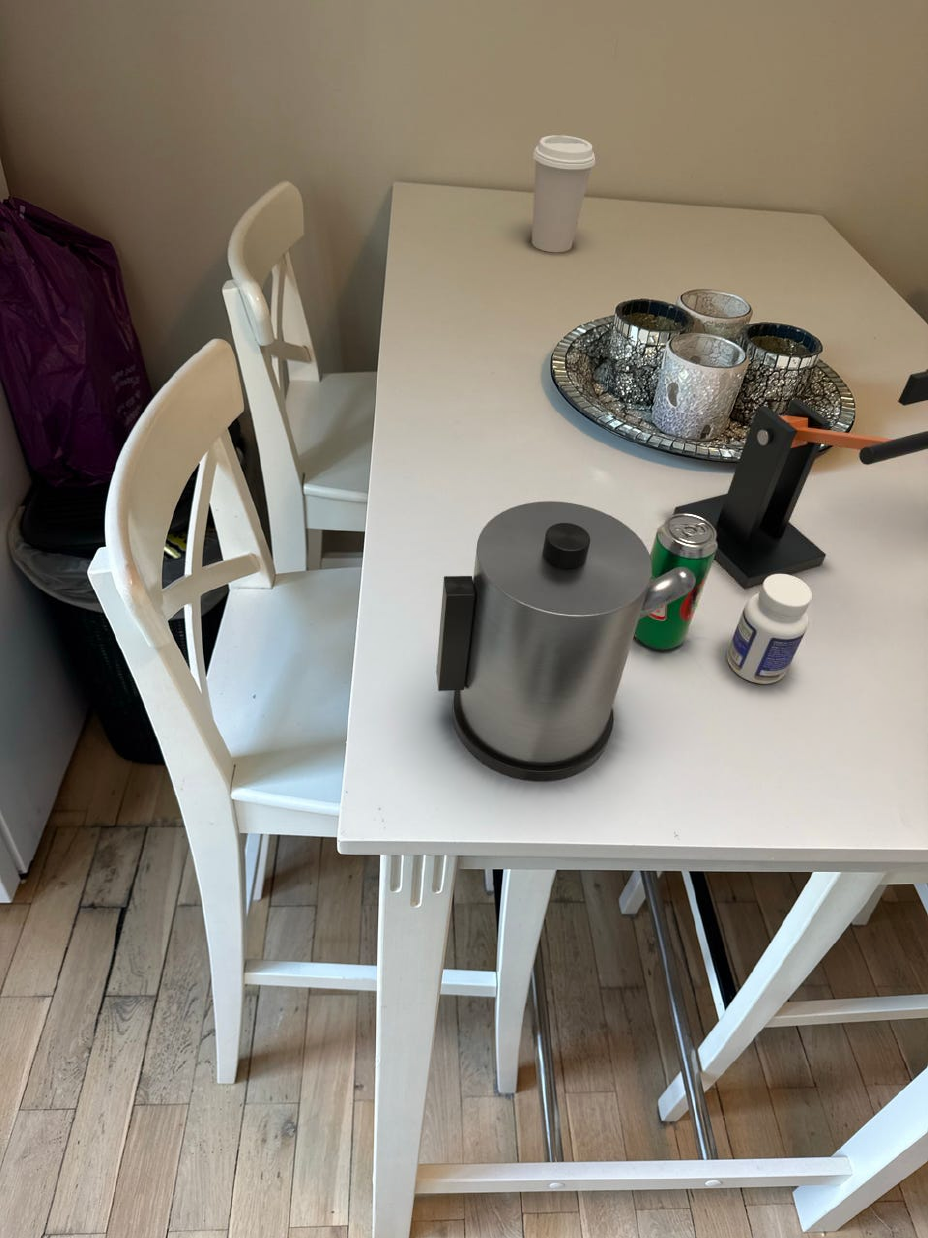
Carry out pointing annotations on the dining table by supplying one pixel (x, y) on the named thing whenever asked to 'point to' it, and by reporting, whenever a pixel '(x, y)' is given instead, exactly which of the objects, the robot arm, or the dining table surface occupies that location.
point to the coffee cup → (559, 190)
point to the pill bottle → (770, 629)
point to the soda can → (673, 547)
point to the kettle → (545, 635)
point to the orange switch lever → (858, 441)
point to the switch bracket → (764, 501)
